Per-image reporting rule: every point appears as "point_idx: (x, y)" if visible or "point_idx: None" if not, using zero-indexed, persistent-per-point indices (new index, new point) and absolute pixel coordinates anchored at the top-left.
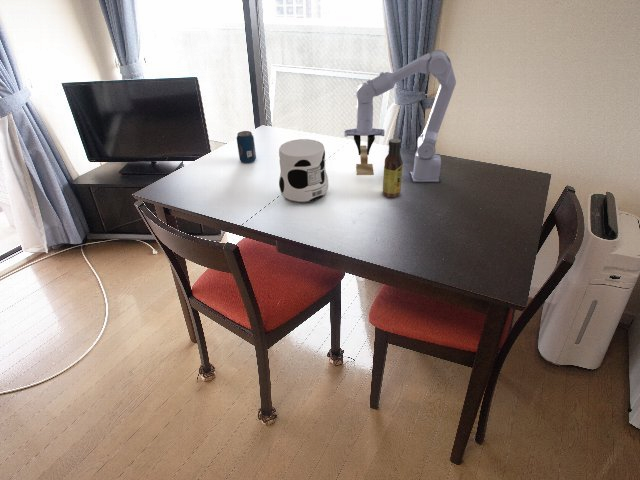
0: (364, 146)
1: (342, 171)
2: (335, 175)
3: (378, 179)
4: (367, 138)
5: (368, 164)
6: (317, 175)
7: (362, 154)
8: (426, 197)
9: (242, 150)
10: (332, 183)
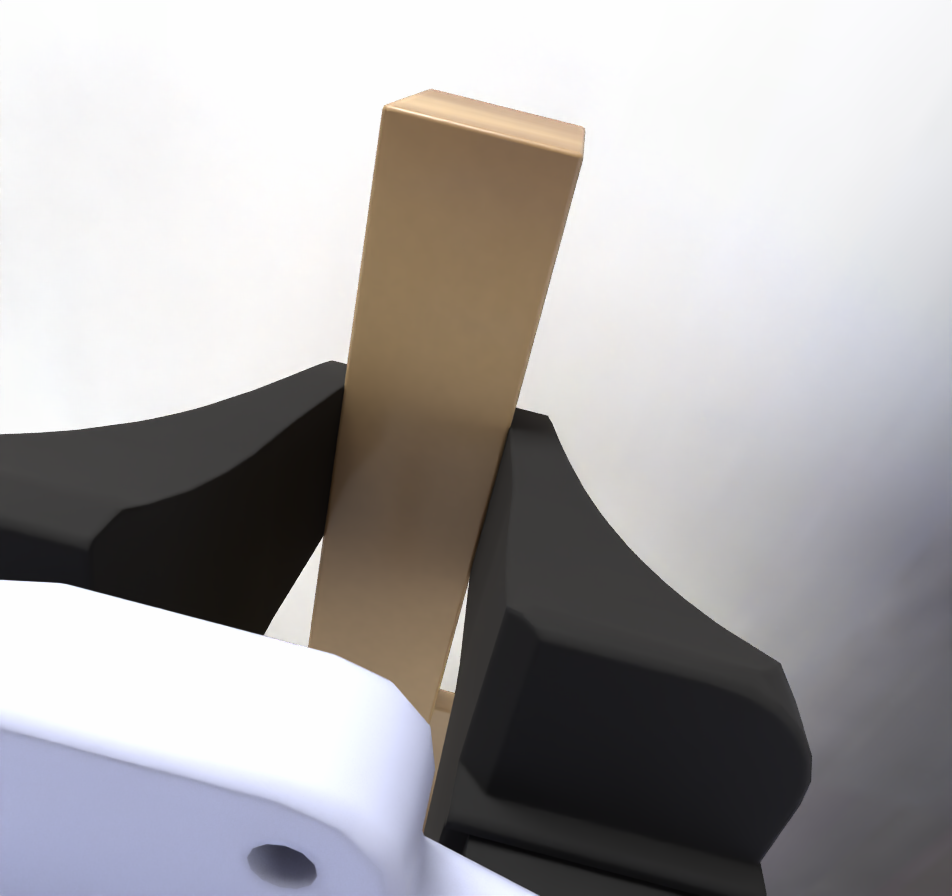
0: (498, 228)
1: (196, 101)
2: (96, 218)
3: (647, 481)
4: (499, 582)
5: (441, 726)
6: None
7: (343, 647)
8: (931, 889)
9: None
10: (74, 424)
